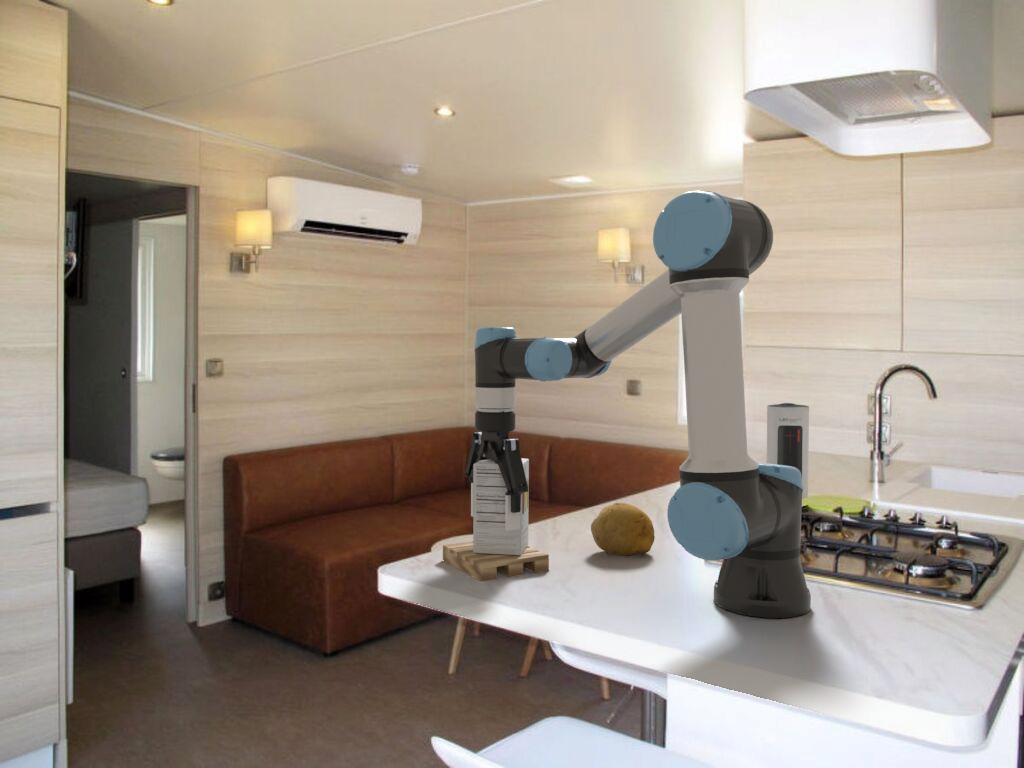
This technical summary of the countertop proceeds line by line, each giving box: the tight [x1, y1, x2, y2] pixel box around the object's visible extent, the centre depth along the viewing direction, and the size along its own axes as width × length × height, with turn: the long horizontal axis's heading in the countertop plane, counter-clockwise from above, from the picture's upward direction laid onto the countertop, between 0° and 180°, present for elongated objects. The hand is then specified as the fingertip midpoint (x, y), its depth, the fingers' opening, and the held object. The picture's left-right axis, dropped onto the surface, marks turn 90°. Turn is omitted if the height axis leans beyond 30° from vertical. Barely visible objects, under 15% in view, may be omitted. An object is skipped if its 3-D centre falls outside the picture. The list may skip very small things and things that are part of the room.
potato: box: [590, 502, 656, 556], centre depth 171 cm, size 10×12×10 cm
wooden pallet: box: [442, 540, 550, 582], centre depth 161 cm, size 16×14×3 cm
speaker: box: [766, 402, 810, 499], centre depth 220 cm, size 11×10×26 cm
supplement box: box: [472, 457, 530, 555], centre depth 161 cm, size 10×9×17 cm
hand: (494, 522), depth 161 cm, fingers open, 13 cm apart
